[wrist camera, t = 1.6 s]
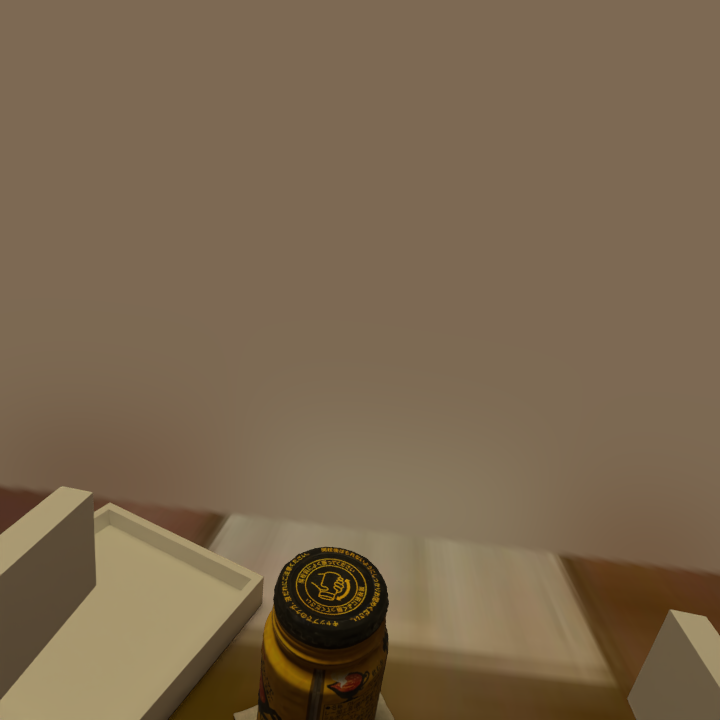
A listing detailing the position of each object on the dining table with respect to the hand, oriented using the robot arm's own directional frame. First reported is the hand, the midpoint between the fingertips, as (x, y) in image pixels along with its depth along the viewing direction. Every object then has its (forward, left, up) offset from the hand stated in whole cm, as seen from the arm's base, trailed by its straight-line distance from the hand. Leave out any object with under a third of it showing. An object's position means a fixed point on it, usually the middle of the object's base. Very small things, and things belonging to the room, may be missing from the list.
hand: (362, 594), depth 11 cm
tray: (+19, -7, -20) cm, 29 cm away
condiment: (+3, -8, -21) cm, 22 cm away
